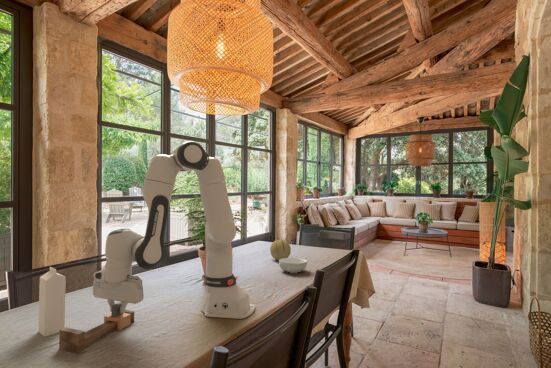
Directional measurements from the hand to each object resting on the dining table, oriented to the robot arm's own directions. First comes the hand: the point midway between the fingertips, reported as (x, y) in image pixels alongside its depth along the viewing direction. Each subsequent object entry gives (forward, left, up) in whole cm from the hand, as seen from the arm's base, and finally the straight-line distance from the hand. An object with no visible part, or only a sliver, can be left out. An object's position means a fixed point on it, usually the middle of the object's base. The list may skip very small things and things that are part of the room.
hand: (117, 312), depth 116 cm
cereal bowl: (-40, -96, -5) cm, 104 cm away
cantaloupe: (-24, -122, -5) cm, 124 cm away
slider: (0, 0, -5) cm, 5 cm away
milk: (+18, +11, -5) cm, 22 cm away
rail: (0, +7, -5) cm, 9 cm away
